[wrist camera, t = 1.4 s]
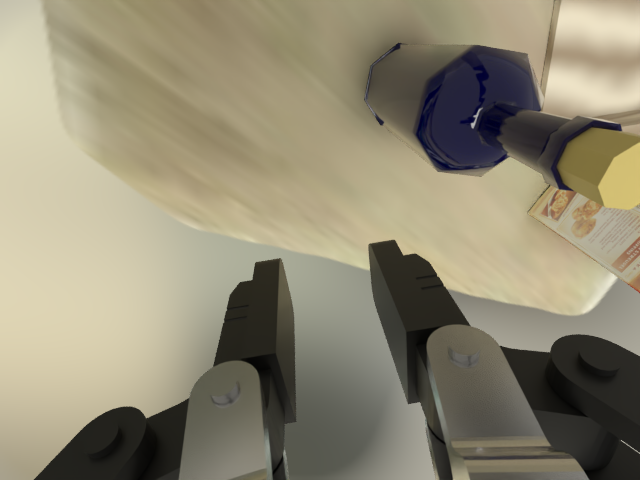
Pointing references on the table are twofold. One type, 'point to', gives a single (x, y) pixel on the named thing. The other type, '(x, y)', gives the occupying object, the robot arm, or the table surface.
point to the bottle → (498, 121)
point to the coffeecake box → (594, 230)
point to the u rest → (594, 61)
